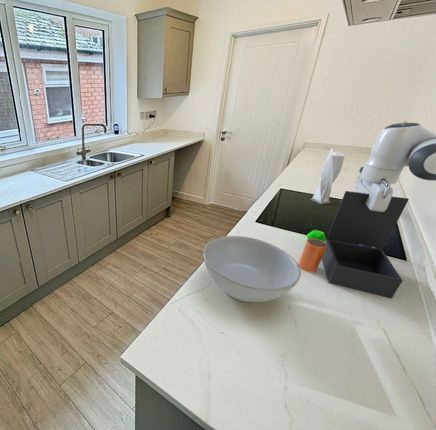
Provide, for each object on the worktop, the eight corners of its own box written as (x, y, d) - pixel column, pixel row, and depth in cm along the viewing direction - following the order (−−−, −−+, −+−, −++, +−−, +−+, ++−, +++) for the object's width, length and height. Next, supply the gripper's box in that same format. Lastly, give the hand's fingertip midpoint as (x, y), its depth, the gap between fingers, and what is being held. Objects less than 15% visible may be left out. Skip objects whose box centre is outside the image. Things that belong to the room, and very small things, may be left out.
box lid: (409, 199, 81) (407, 198, 82) (346, 191, 88) (345, 190, 89) (383, 248, 89) (382, 247, 90) (327, 238, 96) (326, 237, 97)
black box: (390, 300, 80) (402, 280, 76) (327, 284, 86) (336, 266, 83) (372, 267, 94) (382, 249, 90) (319, 256, 100) (326, 239, 97)
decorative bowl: (203, 257, 101) (207, 230, 96) (282, 272, 92) (292, 244, 87) (194, 306, 79) (199, 275, 74) (296, 333, 70) (311, 300, 65)
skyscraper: (307, 198, 147) (324, 148, 135) (318, 196, 149) (336, 147, 137) (321, 204, 140) (340, 152, 127) (332, 202, 142) (353, 151, 129)
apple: (317, 231, 102) (326, 223, 107) (300, 235, 108) (309, 228, 112) (326, 247, 101) (335, 239, 106) (309, 250, 107) (318, 243, 111)
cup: (314, 266, 95) (325, 240, 90) (317, 275, 90) (328, 249, 85) (296, 262, 97) (305, 237, 92) (298, 270, 93) (307, 244, 88)
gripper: (405, 186, 76) (384, 227, 82) (382, 167, 92) (365, 203, 98) (377, 183, 79) (358, 223, 85) (359, 165, 95) (344, 200, 101)
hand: (362, 212), depth 92 cm, fingers closed
